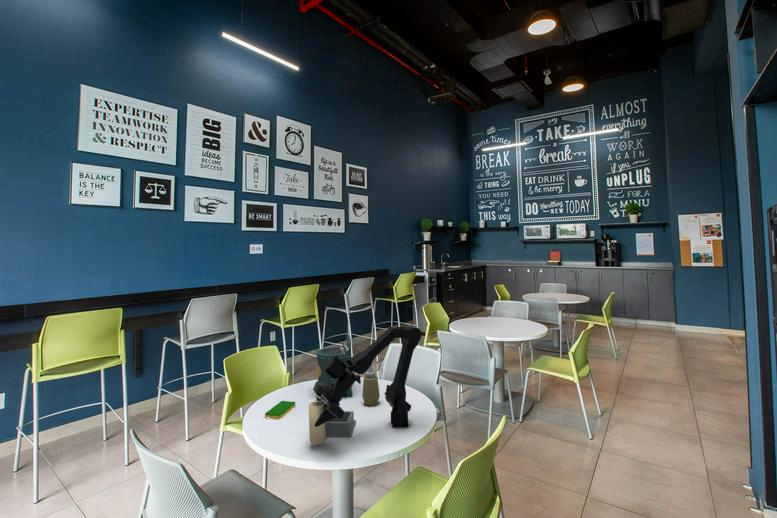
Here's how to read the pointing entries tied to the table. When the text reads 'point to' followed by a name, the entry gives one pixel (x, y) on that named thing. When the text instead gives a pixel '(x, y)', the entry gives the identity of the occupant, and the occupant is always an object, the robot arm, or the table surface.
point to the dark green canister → (326, 353)
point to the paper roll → (314, 413)
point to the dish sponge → (280, 409)
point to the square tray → (341, 425)
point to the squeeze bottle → (370, 388)
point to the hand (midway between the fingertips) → (313, 422)
